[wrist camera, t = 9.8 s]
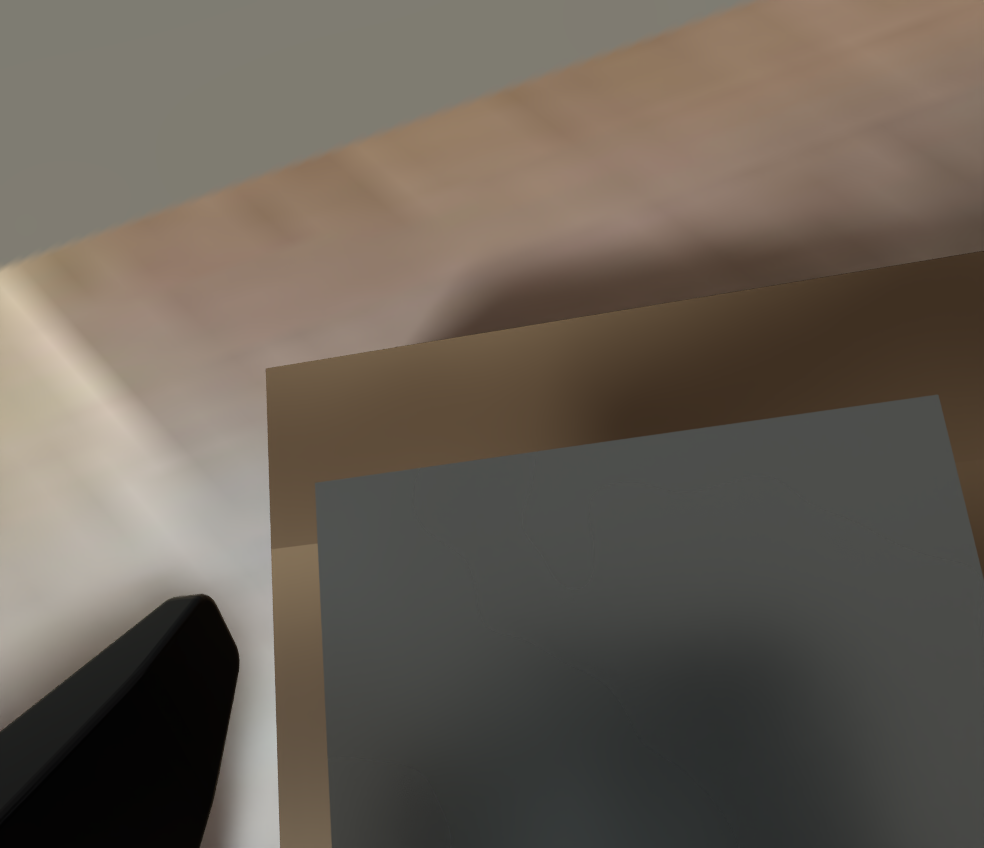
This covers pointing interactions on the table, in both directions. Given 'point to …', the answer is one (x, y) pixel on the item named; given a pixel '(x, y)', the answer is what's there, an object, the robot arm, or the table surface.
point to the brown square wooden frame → (594, 421)
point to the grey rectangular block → (661, 642)
